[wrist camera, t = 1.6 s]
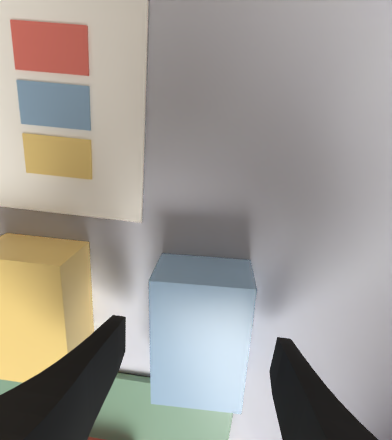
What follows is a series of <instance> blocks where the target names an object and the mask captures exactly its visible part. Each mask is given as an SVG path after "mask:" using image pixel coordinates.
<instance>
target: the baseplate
mask: <svg viewBox="0 0 392 440" xmlns="http://www.w3.org/2000/svg"><path fill="white" fill-rule="evenodd" d="M21 383H22V382H15V381H8V380H1V379H0V395H1V394H3V393H5V392H7V391H9V390H11V389H13V388H14V387H16V386H18V385H20V384H21ZM232 417H233V413H226V412H217V411H209V410H200V409H191V408H182V407H174V406H165V405H156V404H151V382H150V377H144V376H137V375H131V374H124V373H117V376H116V378H115V380H114V382H113V384H112V386H111V389H110V391H109V393H108V395H107V397H106V399H105V401H104V403H103V406H102V408H101V410H100V412H99V414H98V416H97V418H96V420H95V423H94V425H93V427H92V430H91V432H90V434H89V437H93V438H99V439H105V440H228V438H229V433H230V427H231V422H232Z"/></svg>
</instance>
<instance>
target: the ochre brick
mask: <svg viewBox="0 0 392 440" xmlns="http://www.w3.org/2000/svg"><path fill="white" fill-rule="evenodd" d="M93 332H94V325H93V306H92V286H91V267H90V247H89V242H86V241H77V240H68V239H59V238H49V237H40V236H31V235H22V234H12V233H6V234H4V235H2V236H0V379H1V380H8V381H15V382H22V383H23V382H25V381H27V380H28V379H30V378H32V377H34V376H35V375H37V374H39V373H40V372H42V371H43V370H45V369H46V368H48V367H49V366H51V365H52V364H54V363H55V362H57V361H58V360H60V359H61V358H62V357H64V356H65V355H66V354H67V353H69V352H70V351H71V350H73V349H74V348H75V347H77V346H78V345H79V344H80V343H82V342H83V341H84V340H85V339H86V338H87V337H89V336H90V335H91V334H92V333H93Z"/></svg>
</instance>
